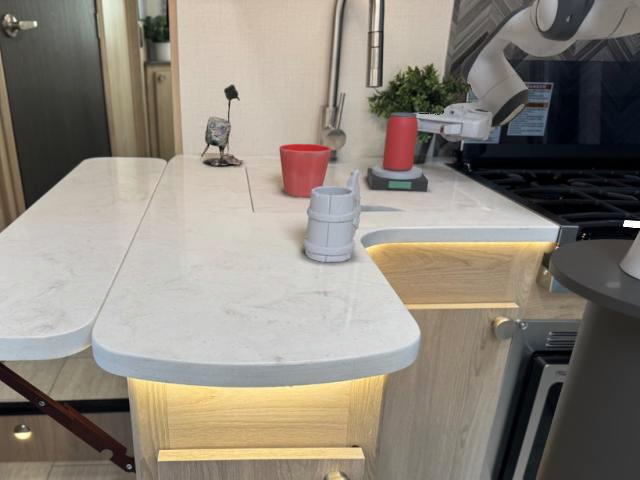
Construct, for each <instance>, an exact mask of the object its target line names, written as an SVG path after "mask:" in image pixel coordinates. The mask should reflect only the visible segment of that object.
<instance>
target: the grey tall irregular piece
mask: <svg viewBox="0 0 640 480" xmlns="http://www.w3.org/2000/svg"><path fill="white" fill-rule="evenodd" d="M223 92H224V95H225V99H226V100H227V101H228V103H227V105H228V106H227V107H228V110H227V119H225V118H221V117H218V116H211V115H209V118H208V121H207V124H206V127H205V129H206V130H205V135H204V141H205V144H206V147H205V148H204V150H203V151H202V152H201V154H200V157H203V156H205V154H206V153H207V151H208V149H209V148H210V146H212V147H217V148H218V150H219V157H220V158H219V159H213V160H212V161H211V164H210V166H227V165H232V164H234V165H238V166H239V165H241V164H242V162H243V160H242V159H238V158H237V157H236V156H235V155H234V154H233V153H229V152H227V153H226V154H225V149H227V150H229V149H230V148H229V145H230V144H229V143H230V142H229V141H230V140H229V137H230V134H231V131H232V129H231V128H232V125H231V122H230V110H231V102H232V100H236V99H237V101H239V102H240V101H241V99H240V97H239V92H238V90H237V88H236V85H234V84H230V85H228V86H226V87H225V88H224V89H223Z"/></svg>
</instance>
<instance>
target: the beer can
mask: <svg viewBox="0 0 640 480" xmlns="http://www.w3.org/2000/svg"><path fill="white" fill-rule="evenodd" d="M414 113H415V112H391V113H390V116H389V118H388V120H387V123H386V130H385V139H384V148H383V159H382V165H383V167H384V168H385V169H387V170H390V171H408V170H410V169H412V167H414V158H415V150H416V142H417V136H418V131H417V128H418V121H417V117H416V116H417V114H414Z"/></svg>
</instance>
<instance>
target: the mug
mask: <svg viewBox="0 0 640 480" xmlns="http://www.w3.org/2000/svg"><path fill="white" fill-rule="evenodd" d="M359 176H360V169H351V171H350V177H348V179H347V184H346V186H337V185H323V186H320V187H316V188H313V189H312V190H311V197H310V198H309V206H308V207H307V209H306V215H307V217H308V218H307V229H306V237H305V238H303V247H304V249H305V250H304V253H305V256H307V258H309V259H311V260H313V261H318V262H323V263H325V262H326V263H330V262H331V263H333V262H334V263H340V262H346V261H347V260H349V259H351V258H352V255H353V251H354V250H355V248H356V242H355V239H353V238H355V235H356V232H357V230H358V229H359V226H360V221H361V218H360V215H361V213H362V210H363V209H362V207H363V206H362V204H361V199H362V197H361V190H360V184H359Z"/></svg>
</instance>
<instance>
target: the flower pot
mask: <svg viewBox="0 0 640 480" xmlns="http://www.w3.org/2000/svg"><path fill="white" fill-rule="evenodd" d="M331 153H332V148H331V147H330V146H327V145H324V144H315V143H313V144H312V143H290V144H289V143H288V144H283V145H280V146H279V158H280V166H281V175H282V183H283V190H284V193H286V195H288V196H292V197H300V198H309V197H311V190H312V189H313V188H316V187H320V186H324V181H325V178H326V174H327V170H328V166H329V162H330V157H331Z"/></svg>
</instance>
